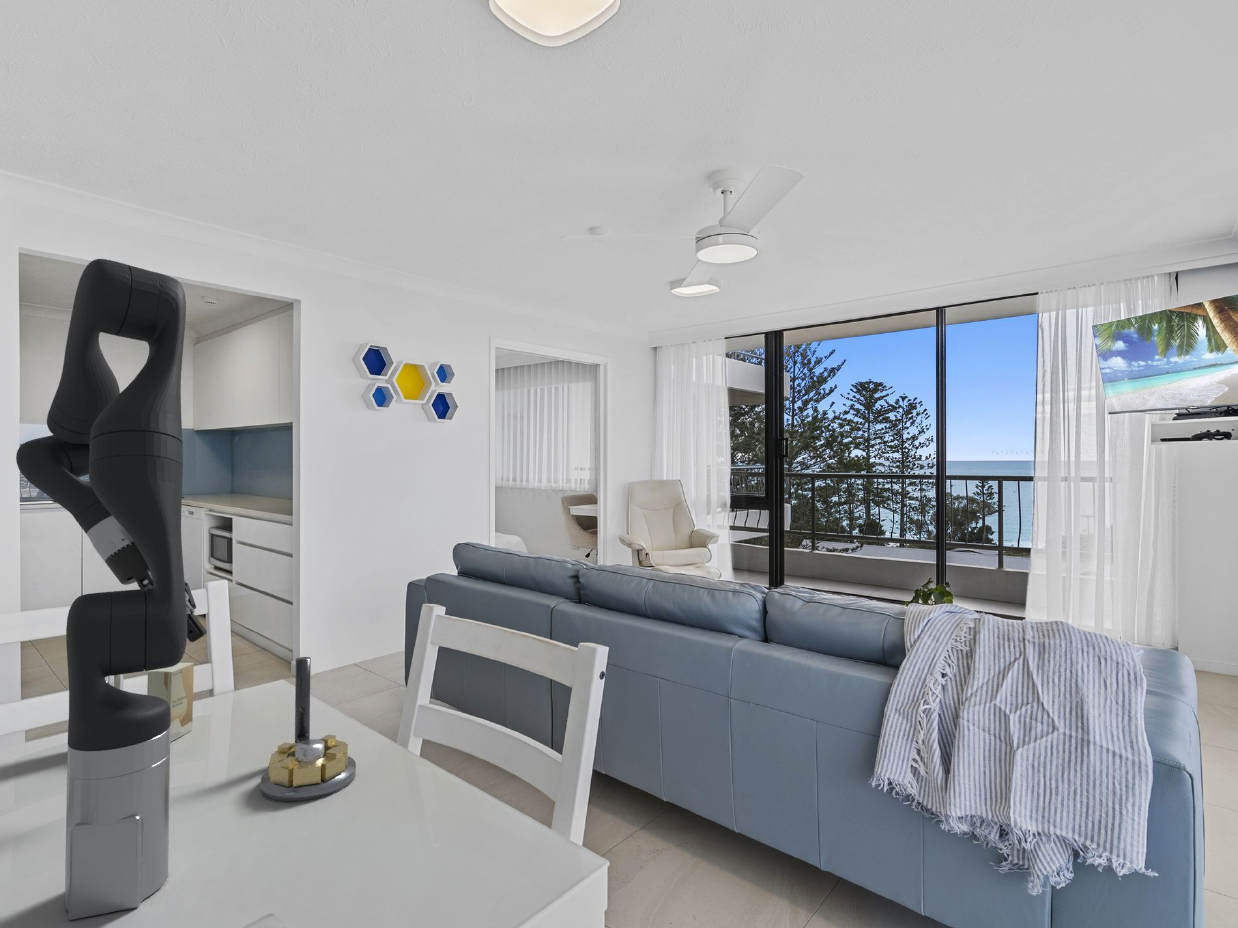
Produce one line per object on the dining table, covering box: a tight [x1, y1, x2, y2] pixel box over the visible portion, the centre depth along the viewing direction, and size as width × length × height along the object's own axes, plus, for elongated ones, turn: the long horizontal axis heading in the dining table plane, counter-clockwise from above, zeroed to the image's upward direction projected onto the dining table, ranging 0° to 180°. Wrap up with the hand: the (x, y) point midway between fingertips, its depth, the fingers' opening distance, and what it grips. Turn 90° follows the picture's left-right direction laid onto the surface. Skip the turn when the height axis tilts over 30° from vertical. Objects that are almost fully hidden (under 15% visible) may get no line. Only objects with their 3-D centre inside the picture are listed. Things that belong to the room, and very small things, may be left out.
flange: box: [260, 738, 357, 804], centre depth 100 cm, size 13×13×6 cm
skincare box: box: [146, 662, 195, 743], centre depth 117 cm, size 6×4×12 cm
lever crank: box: [268, 656, 349, 787], centre depth 103 cm, size 16×11×14 cm, turn 21°
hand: (199, 637), depth 102 cm, fingers closed
